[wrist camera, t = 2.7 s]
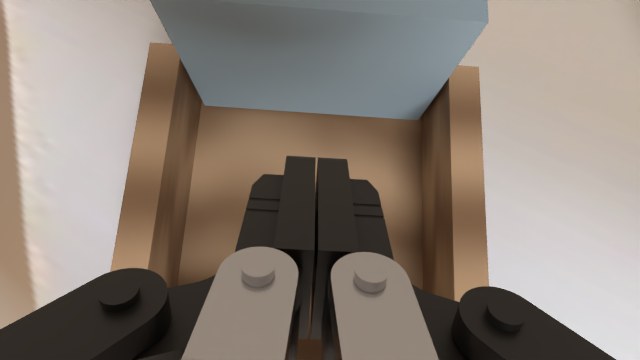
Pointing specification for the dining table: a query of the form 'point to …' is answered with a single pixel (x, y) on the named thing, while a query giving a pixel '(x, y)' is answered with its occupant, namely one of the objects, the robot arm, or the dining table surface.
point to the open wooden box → (315, 141)
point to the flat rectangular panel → (322, 52)
